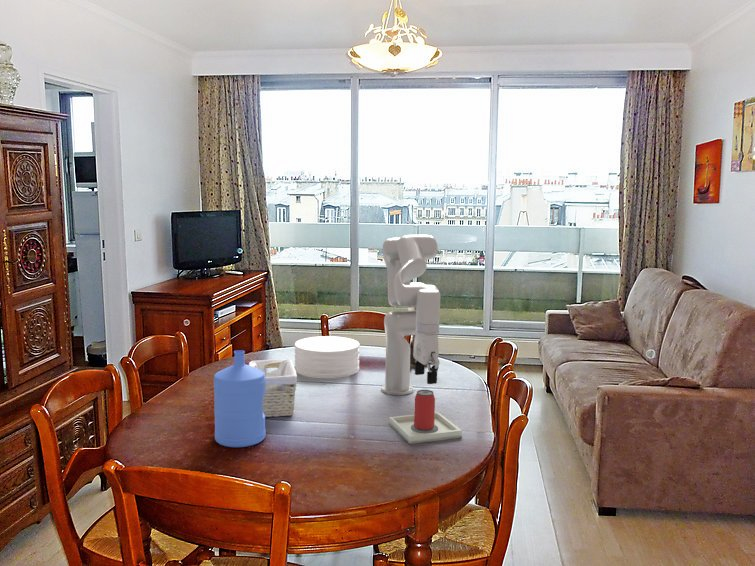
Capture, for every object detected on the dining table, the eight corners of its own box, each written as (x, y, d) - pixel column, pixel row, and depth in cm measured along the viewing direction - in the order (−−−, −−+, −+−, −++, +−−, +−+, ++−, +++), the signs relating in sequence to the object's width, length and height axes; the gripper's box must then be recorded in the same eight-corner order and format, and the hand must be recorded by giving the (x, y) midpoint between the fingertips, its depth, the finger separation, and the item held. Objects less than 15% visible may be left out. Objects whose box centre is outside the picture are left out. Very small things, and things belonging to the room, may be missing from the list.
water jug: (241, 452, 192) (240, 361, 188) (203, 441, 200) (201, 352, 196) (276, 436, 205) (275, 350, 201) (239, 425, 213) (238, 343, 209)
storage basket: (248, 397, 242) (248, 359, 240) (292, 395, 245) (292, 357, 243) (249, 420, 219) (249, 378, 217) (297, 417, 222) (297, 376, 220)
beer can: (436, 425, 214) (438, 390, 212) (430, 432, 208) (431, 396, 206) (418, 422, 216) (419, 387, 215) (410, 429, 210) (411, 393, 209)
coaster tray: (388, 424, 217) (389, 417, 217) (437, 418, 223) (437, 411, 223) (409, 444, 201) (409, 436, 200) (461, 437, 207) (461, 430, 206)
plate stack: (358, 379, 268) (358, 352, 266) (290, 377, 268) (290, 350, 266) (360, 361, 296) (360, 336, 294) (299, 360, 296) (299, 335, 294)
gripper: (406, 322, 214) (404, 372, 217) (427, 334, 198) (425, 388, 201) (427, 320, 216) (425, 370, 219) (449, 333, 200) (447, 386, 203)
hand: (425, 378), depth 210 cm, fingers open, 9 cm apart
